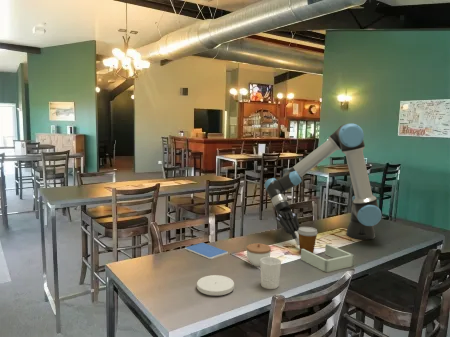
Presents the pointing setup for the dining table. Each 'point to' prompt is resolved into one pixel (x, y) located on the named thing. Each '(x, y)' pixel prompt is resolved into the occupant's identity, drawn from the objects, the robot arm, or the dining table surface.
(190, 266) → the dining table surface
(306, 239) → the disposable coffee cup
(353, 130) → the robot arm
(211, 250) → the blue notebook
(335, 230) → the dining table surface
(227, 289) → the plastic lid
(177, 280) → the dining table surface
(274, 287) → the white cup
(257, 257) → the lidded jar
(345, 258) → the tub
